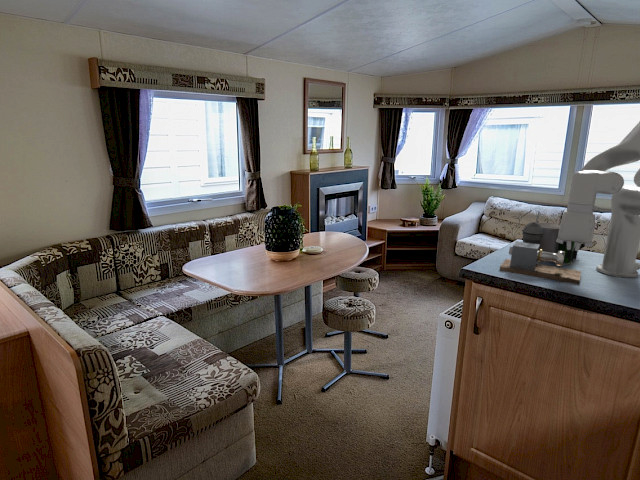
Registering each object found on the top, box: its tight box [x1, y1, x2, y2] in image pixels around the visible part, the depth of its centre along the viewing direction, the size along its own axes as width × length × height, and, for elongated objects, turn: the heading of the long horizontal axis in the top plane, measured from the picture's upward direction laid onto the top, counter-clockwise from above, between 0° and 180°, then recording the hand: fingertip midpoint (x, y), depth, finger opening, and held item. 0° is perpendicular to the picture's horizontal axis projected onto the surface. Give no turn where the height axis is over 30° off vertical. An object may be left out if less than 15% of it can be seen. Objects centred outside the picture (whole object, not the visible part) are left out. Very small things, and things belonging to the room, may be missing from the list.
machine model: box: [499, 240, 582, 286], centre depth 148 cm, size 25×12×10 cm, turn 57°
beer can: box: [557, 241, 575, 266], centre depth 161 cm, size 5×5×12 cm
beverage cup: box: [522, 211, 543, 244], centre depth 161 cm, size 7×7×20 cm
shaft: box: [508, 246, 565, 267], centre depth 149 cm, size 18×5×5 cm, turn 57°
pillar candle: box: [537, 221, 560, 262], centre depth 166 cm, size 10×10×15 cm
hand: (570, 260), depth 143 cm, fingers closed
